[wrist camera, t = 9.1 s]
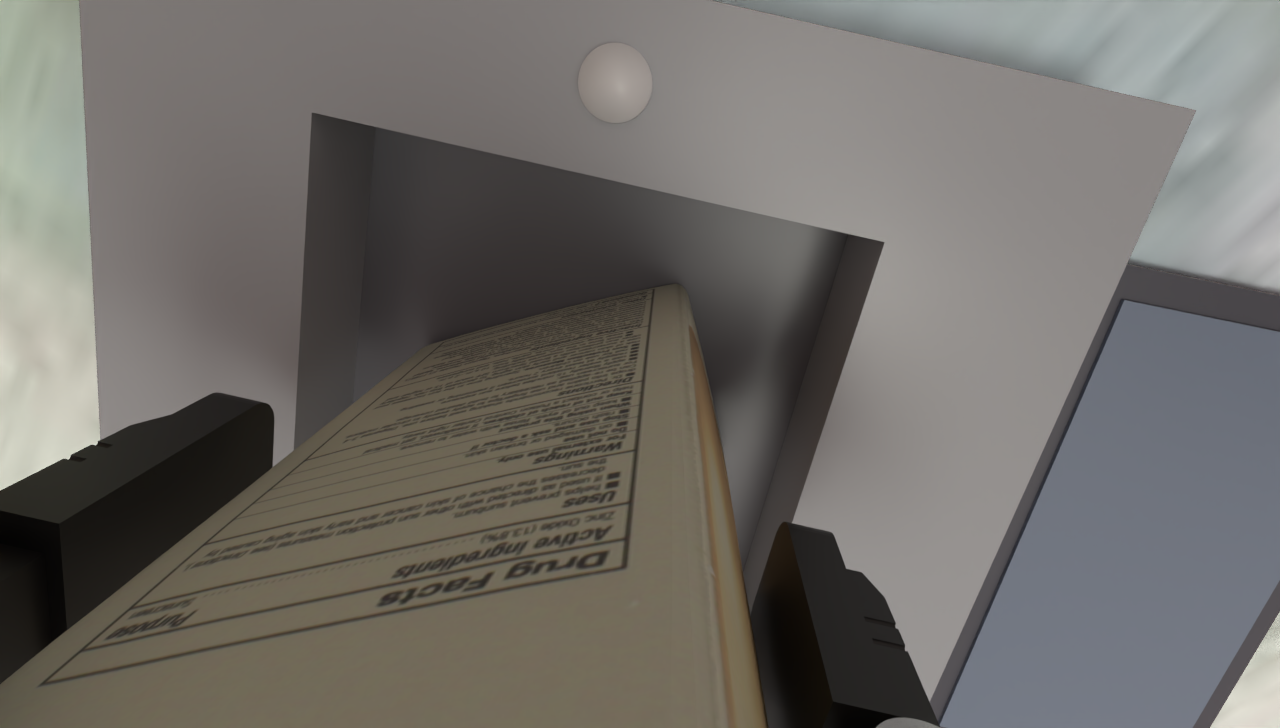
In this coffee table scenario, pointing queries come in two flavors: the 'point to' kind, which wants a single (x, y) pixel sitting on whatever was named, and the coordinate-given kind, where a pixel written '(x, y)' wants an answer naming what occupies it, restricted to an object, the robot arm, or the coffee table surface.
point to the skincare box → (452, 557)
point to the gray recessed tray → (628, 236)
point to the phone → (1138, 526)
